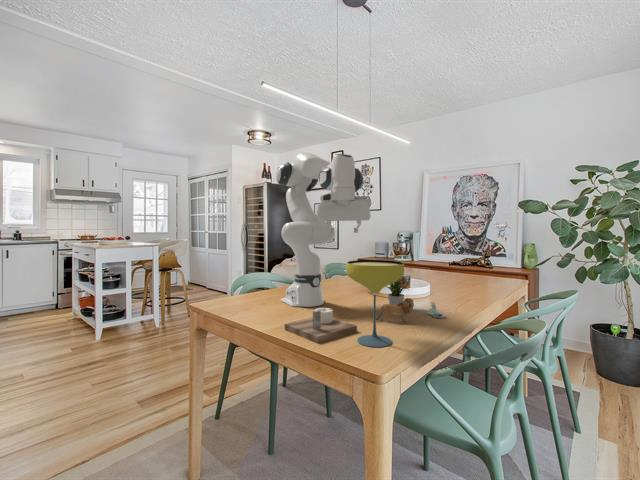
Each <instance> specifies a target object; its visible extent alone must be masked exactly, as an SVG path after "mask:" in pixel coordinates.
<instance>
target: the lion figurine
mask: <svg viewBox="0 0 640 480" xmlns="http://www.w3.org/2000/svg"><path fill="white" fill-rule="evenodd" d="M414 307H415V303H414V299H413V298H410V297H407V298H404V300H403V302H401V303H399V304H398V305H391V304H389V303H384V304H383V305H381V306H380V309H379V312H378V316H377V317H376V321H378V320H380V321H383V320H384V319H385V322H386V323H391V320H389V318H388V316H389V314H392V315H395V316H397V315H399V321H400V322H402V323H403V324H406V323H407V321H406V320H405V319H406V315H410V313H411V312H412V311H413V310H414ZM383 316H384V318H383Z"/></svg>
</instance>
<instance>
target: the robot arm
mask: <svg viewBox="0 0 640 480" xmlns="http://www.w3.org/2000/svg"><path fill="white" fill-rule="evenodd" d="M354 159H355V158H354V157H353V156H352V155H350V154H342V153H339V154H338V153H337V154H334V155H333V156H332V160H331V162H330V161H329V160H328V161H327V160H325V159H323V158H322V157H319V156H317V155H316V154H313V153H310V152H306V151H305V152H299V153H298V154H296V156H295V157H294V160H293V163H290V162H286V163H285V164H280V165H279V166H278V168H277V169H276V173H275V178H276V182H277V184H279V186H280V185H281V186H283V187H285V186H287V187H289V188H288V189H287V191H285V192H286V193H285V199H286V200H285V201H286V206H287V208H288V212H289V216H290V218H291V220H292V221H289V222H286V223H285V224H284V225H283V226H282V228H281V238H282V240H283V242H284V244H287V245H288V246H289V247H290V249H292V251H293V253H294V256H295V260H296V264H295V265H296V274H293V278H294V281H293V282H292V283H291V284H290V285H289V286H288V287H287V288H286V290H285V297H281V298H280V301H281V302H283V303H284V304H286V305H288V306H291V307H303V308H304V307H306V308H310V307H319V306H322V305H324V302H325V299H324V296H323V295H324V294H323V287H322V284H321V282H322V274H321V258H320V256H319V255H318V254H317V253H315V252H313V251H311V250H310V246H311V245H315V246H316V245H324V244H328V243H329V244H330V243H331V242H332V241H333V239H334V237H335V228H334V226H333V225H332V222H348V221H349V222H352V221H355V222H356V223H357V226H356V227H354V228H353V233H355V234H356V233H359V228H360V227H361V226H362V225H361V224H362V221H370V220H371V210H370V209H371V207H372V199H371V198H370V197H369V196H367V195H363V196H361V195H356V192H358V191H359V190H360V189H361V187H362V186H363V184H364V176H363V174H362V172H361V171H360V169H359V168H357V167H356V166H355V160H354ZM317 184H319V186H320V188H321V189H323V190H324V191H331V192H328V193H326V194H325V193H324V194H322V195H320V198H319V199H320V203H319V204H318V208H317V213H316V212H315V211H314V210H313V207H312V205H311V204H310V200H309V198H308V197H307V192H311V191H312V189H314V188H315V187H316V185H317Z"/></svg>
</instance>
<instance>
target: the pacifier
mask: <svg viewBox="0 0 640 480" xmlns="http://www.w3.org/2000/svg"><path fill="white" fill-rule="evenodd" d="M430 306H431V308H429V309H428V310H427V313H428V314H429V315H430V316H431V317H432V318H440V319H441V318H445V314H443V313H442V312H440V311H439V310H438V309H437V306H436V302H435V301H434V300H432V301H431V303H430Z"/></svg>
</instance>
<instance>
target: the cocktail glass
mask: <svg viewBox="0 0 640 480" xmlns="http://www.w3.org/2000/svg"><path fill="white" fill-rule="evenodd" d="M345 272H346V274H347V276H348V277H349V278H350V279H351V280H353V281H354V282H355V283H358V284H360V285H362V286H364V288H366V289H368V291H369V292H370V294H371V295H373V321H372V323H373V325H372V326H373V327H372V334H365V335H362V336H359V337H358V338H357V342H358V344H360V345H362V346H365V347H369V348H385V347H389V346H390V345H392V343H393V341H392V339H390V338H389V337H387V336H384V335H379V334H377V324H376V323H377V322H376V321H377V320H376V319H377V317H376V316H377V314H376V313H377V310H376V308H377V307H376V304H377V303H376V302H377V301H376V299H377V297H376V296H378V294H379V293H380V292H381V291H382V290H383V289H384V288H387V287H389V286H390V284H392V283H394V282H396V281H398V280H399V279H401V278H402V279H403V277H404V275H405V264H404V262H402V261H396V260H385V259H383V260H382V259H359V260H349V261H347V262H346V264H345ZM386 286H387V287H386Z"/></svg>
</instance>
